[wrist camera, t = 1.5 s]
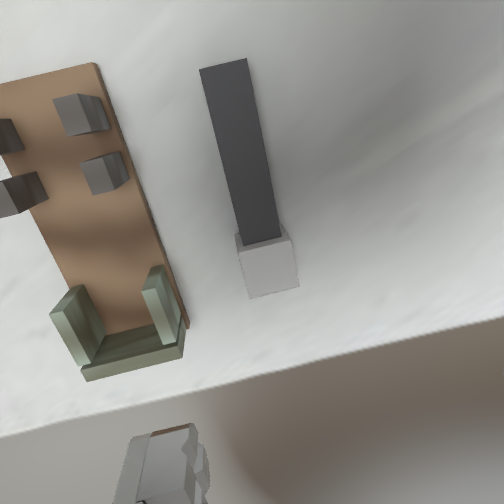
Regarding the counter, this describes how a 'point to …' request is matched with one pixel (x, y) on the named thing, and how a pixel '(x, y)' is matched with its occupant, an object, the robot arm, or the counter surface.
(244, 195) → the dark grey square bar
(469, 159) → the counter surface
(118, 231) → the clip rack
